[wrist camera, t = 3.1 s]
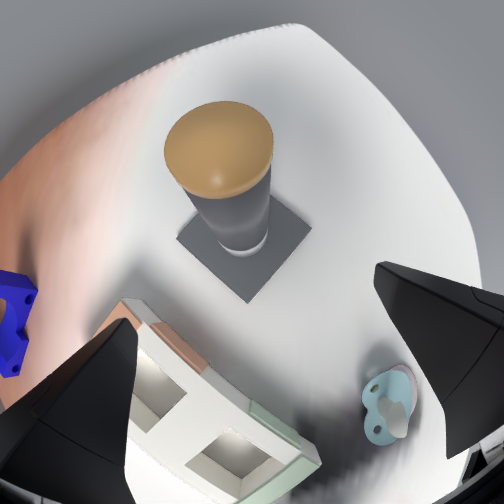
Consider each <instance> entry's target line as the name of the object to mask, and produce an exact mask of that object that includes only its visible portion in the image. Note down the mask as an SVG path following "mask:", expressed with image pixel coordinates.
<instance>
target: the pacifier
mask: <svg viewBox="0 0 504 504" xmlns="http://www.w3.org/2000/svg"><path fill="white" fill-rule="evenodd" d="M374 385H378V386H376V387H375V389H374V390H373V392H370V390H371V388H372V387H373V386H374ZM417 391H418V389H417V382H416V379H415V376H414V374H413V373H412V371H411V370H410V369H409V368H408V367H406V366H404V365H396V366H394V367H392V368H391V369H390V370H389V371H385V372H382V373H380V374H378V375H376V376H375V377H373V378H372V379H371V380H370V381H369V382H368V383H367V384H366V385H365V387H364V389H363V391H362V402H363V404H364V406H365V407H366V408H367V409H368V412H367V414H366V416H365V420H364V431H365V434H366V436H367V438H368V439H369V440H370V441H371V442H372V443H374V444H376V445H380V446H384V445H388V444H391V443H393V442H394V441H396V440H397V439H398V438H404V437H406V435H407V431H408V422H409V419H410V416H411V414H412V412H413V410H414V408H415V405H416V401H417ZM377 425H380V426H381V430H380V432H379V433H377V434H375V433H374V432H373V430H374V427H375V426H377Z"/></svg>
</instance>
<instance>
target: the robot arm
mask: <svg viewBox="0 0 504 504" xmlns="http://www.w3.org/2000/svg"><path fill="white" fill-rule="evenodd" d="M374 287H375V290H376V291H377V293H378V295H379V297H380V299H381V301H382V303H383V305H384V307H385V309H386V311H387V313H388V315H389V317H390V319H391V320H392V322H393V323H394V325H395V327H396V328H397V330H398V331H399V333H400V334H401V336H402V338H403V339H404V341H405V342H406V344H407V346H408V347H409V349H410V351H411V352H412V354H413V356H414V357H415V359H416V361H417V362H418V364H419V366H420V367H421V369H422V371H423V373H424V374H425V376H426V378H427V380H428V382H429V383H430V385H431V387H432V389H433V391H434V392H435V394H436V396H437V398H438V400H439V402H440V404H441V406H442V408H443V410H444V413H445V420H446V457H447V459H450V458H452V457H454V456H455V455H457V454H459V453H461V452H463V451H464V450H466V449H468V448H470V447H471V446H473V445H474V444H476V443H479V446H480V448H479V449H477V450H476V451H475V452H473V453H472V455H471V458H470V461H469V464H468V466H467V469H466V472H465V474H464V476H463V479H462V483H463V485H461V486H460V487H458V488H457V489H455V490H454V491H452V492H451V493H449V494H447V495H446V496H444V497H443V498H441V499H439V500H438V501H436V502H434V503H432V504H504V296H503V295H499V294H496V293H492V292H489V291H485V290H482V289H479V288H475V287H472V286H470V287H469V286H468V285H465V284H462V283H458V282H455V281H452V280H449V279H445V278H442V277H439V276H436V275H432V274H429V273H426V272H422V271H419V270H416V269H412V268H409V267H405V266H402V265H398V264H395V263H391V262H388V261H384V262H380V263H377V264H376V267H375V274H374ZM137 351H138V333H137V331H136V330H135V328H134V327H133V325H132V324H131V322H130V321H129V319H128V318H126V317H123V318H118V319H116V320H115V321H113V322H112V323H111V324H110V325H108V326H107V327H106V328H105V329H103V330H102V331H101V332H100V333H99V334H97V335H96V336H95V337H94V338H93V339H91V340H90V341H89V342H88V343H87V344H85V345H84V346H83V347H82V348H81V349H79V350H78V351H77V352H76V353H75V354H73V355H72V356H71V357H70V358H69V359H68V360H66V361H65V362H64V363H63V364H62V365H61V366H59V367H58V368H57V369H56V370H55V371H54V372H52V374H50V375H48V376H47V377H46V378H45V379H44V380H43V381H41V382H40V383H39V384H38V385H37V386H36V387H34V388H33V389H32V390H31V391H29V392H28V393H27V394H26V395H24V396H23V397H22V398H21V399H19V400H18V401H17V402H15V403H14V404H13V405H12V406H10V407H9V408H8V409H7V410H5V411H4V412H3V413H2V414H0V504H136V502H135V500H134V498H133V496H132V494H131V491H130V489H129V487H128V484H127V482H126V479H125V473H124V467H125V454H126V442H127V432H128V423H129V415H130V407H131V400H132V393H133V387H134V381H135V375H136V366H137Z"/></svg>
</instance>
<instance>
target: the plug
mask: <svg viewBox="0 0 504 504" xmlns="http://www.w3.org/2000/svg"><path fill="white" fill-rule="evenodd" d="M164 156H165V161H166V165H167V167H168V169H169V170H170V172H171V173H172V175H173V176H174V178H175V179H176V181H177V182H178V183H179V185H180V186H181V187H182V188H183V189H184V191H185V192H186V194H187V195H188V197H189V198H190V200H191V201H192V203H193V204H194V206H195V207H196V209H197V210H198V212H199V213H200V215H201V216H202V218H203V219H204V221H205V222H206V224H207V225H208V227H209V228H210V230H211V231H212V233H213V234H214V235H215V237H216V238H217V240H218V241H219V243H220V244H221V246H222V247H223V248H224V250H225V251H226V252H228V253H229V254H231V255H233V256H236V257H249V256H252V255H254V254H256V253H258V252H259V251H260V250H261V249H262V248H263V246H264V245H265V243H266V240H267V235H268V218H269V198H270V177H271V161H272V156H273V133H272V129H271V127H270V125H269V123H268V121H267V120H266V119H265V117H264V116H263V115H262V114H261V113H259V112H258V111H257V110H255V109H254V108H252V107H250V106H248V105H245V104H242V103H238V102H231V101H220V102H213V103H208V104H205V105H202V106H199V107H197V108H195V109H193V110H191V111H190V112H188V113H186V114H185V115H184V116H183V117H181V118H180V119H179V120H178V121H177V122H176V123H175V125H174V126H173V127H172V129H171V130H170V132H169V134H168V136H167V139H166V142H165V147H164Z"/></svg>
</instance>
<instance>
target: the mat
mask: <svg viewBox="0 0 504 504" xmlns="http://www.w3.org/2000/svg"><path fill="white" fill-rule="evenodd" d="M311 229H312V228H311V227H310V226H309V225H307V224H306V223H305V222H304V221H303V220H301V219H300V218H299V217H298V216H296V215H295V214H294V213H293V212H291V211H290V210H289V209H288V208H286V207H285V206H284V205H283V204H281V203H280V202H279V201H277V200H276V199H275V198H274V197H272V196H271V195H270V198H269V218H268V235H267V240H266V243H265V245H264V246H263V248H262V249H261V250H260V251H259V252H258V253H256V254H254V255H252V256H249V257H236V256H233V255H231V254H229V253H228V252H226V251H225V250H224V248H223V247H222V246H221V244H220V243H219V241H218V240H217V238H216V237H215V235H214V234H213V233H212V231H211V230H210V228H209V227H208V225H207V224H206V222H205V221H204V219H203V218H202V216H201V215H200V213H199V214H198V215H197V216H196V217H195V218H194V219H193V220H192V221H191V222H190V223H189V224H188V226H187V227H186V228H185V229H184V230H183V231H182V232H181V233H180V234H179V235H178V237H177V238H176V239H177V240H178V241H179V242H180V243H181V244H182V245H183V246H184V247H185V248H186V249H187V250H188V251H189V252H191V253H192V254H193V255H194V256H195V257H196V258H197V259H198V260H199V261H200V262H201V263H202V264H204V265H205V266H206V267H207V268H208V269H209V270H210V271H211V272H212V273H213V274H215V275H216V276H217V277H218V278H219V279H220V280H221V281H222V282H223V283H225V284H226V285H227V286H228V287H229V288H230V289H231V290H232V291H234V292H235V293H236V294H237V295H238V296H239V297H240V298H241V299H243V300H244V301H245V302H246V303H247V304H248V303H249V302H250V301H251V299H252V298H253V297H254V296H255V295H256V294H257V293H258V291H259V290H260V289H261V288H262V287H263V286H264V285H265V283H266V282H267V281H268V280H269V279H270V278H271V277H272V275H273V274H274V273H275V272H276V271H277V270H278V268H279V267H280V266H281V265H282V264H283V263H284V261H285V260H286V259H287V258H288V257H289V255H290V254H291V253H292V252H293V251H294V250H295V248H296V247H297V246H298V245H299V244H300V242H301V241H302V240H303V239H304V238H305V236H306V235H307V234H308V233H309V232H310V230H311Z"/></svg>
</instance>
